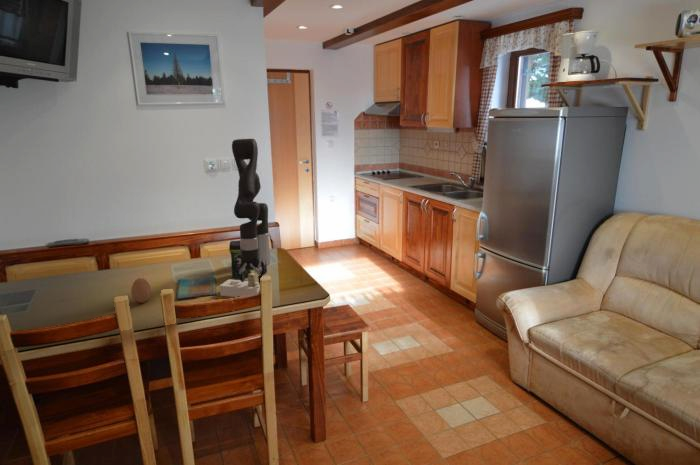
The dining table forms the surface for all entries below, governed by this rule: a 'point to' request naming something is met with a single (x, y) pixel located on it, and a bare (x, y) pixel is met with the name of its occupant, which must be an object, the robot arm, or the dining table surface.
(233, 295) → the block
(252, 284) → the peg
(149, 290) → the egg
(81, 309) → the dining table surface
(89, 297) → the dining table surface
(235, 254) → the coffee jar
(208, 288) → the book
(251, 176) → the robot arm
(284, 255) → the dining table surface
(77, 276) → the dining table surface
